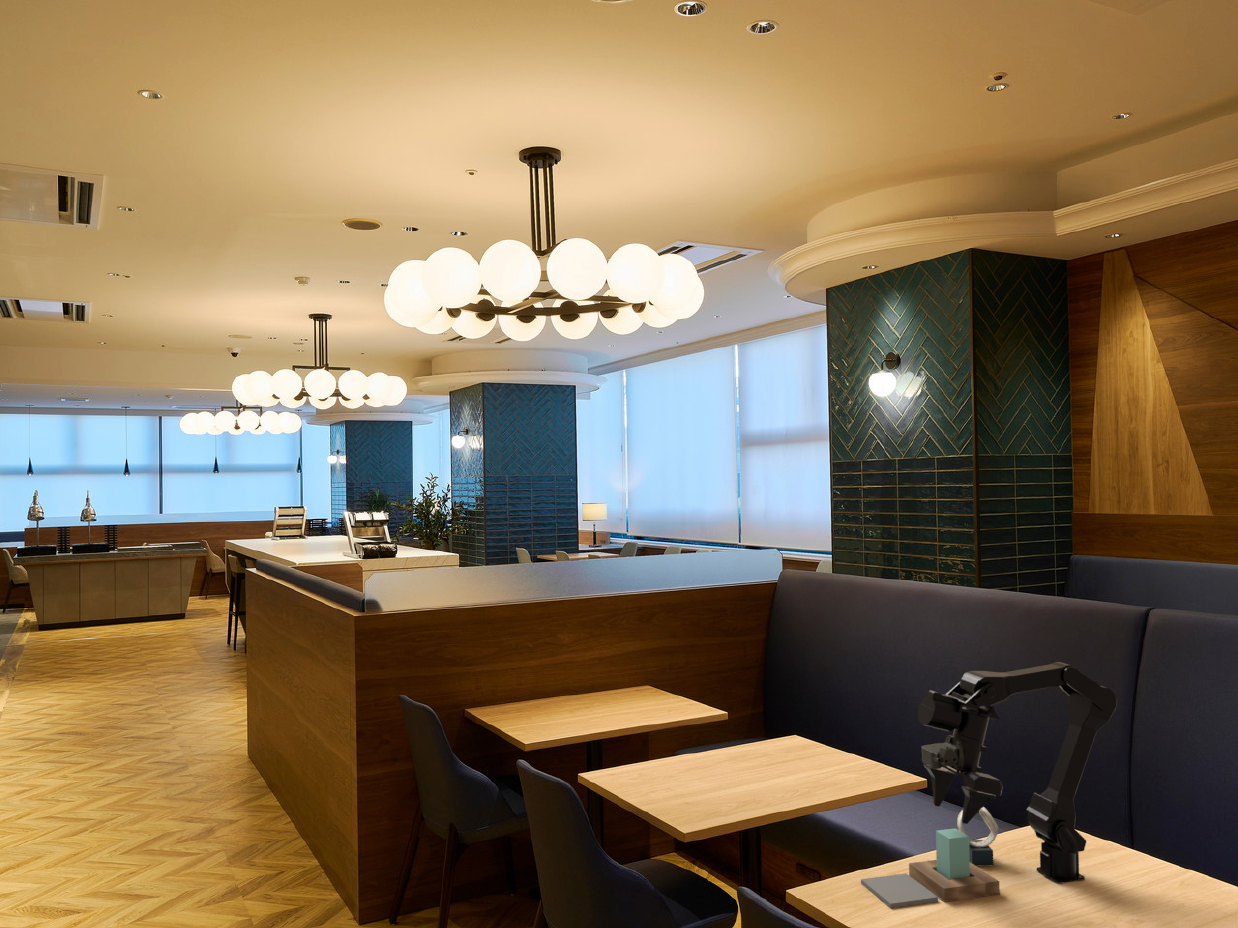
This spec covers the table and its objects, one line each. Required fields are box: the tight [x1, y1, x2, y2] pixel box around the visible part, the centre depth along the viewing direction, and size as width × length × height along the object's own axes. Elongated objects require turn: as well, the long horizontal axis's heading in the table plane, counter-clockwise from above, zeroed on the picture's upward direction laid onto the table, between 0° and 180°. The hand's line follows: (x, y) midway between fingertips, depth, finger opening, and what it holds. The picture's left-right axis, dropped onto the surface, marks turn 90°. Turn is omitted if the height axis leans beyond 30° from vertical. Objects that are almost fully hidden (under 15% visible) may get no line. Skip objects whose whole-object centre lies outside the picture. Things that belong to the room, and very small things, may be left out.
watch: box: [956, 806, 1000, 866], centre depth 192 cm, size 6×8×11 cm
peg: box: [935, 828, 970, 880], centre depth 180 cm, size 4×4×10 cm
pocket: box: [908, 859, 1001, 903], centre depth 180 cm, size 12×12×2 cm
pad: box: [860, 873, 939, 909], centre depth 177 cm, size 10×11×1 cm
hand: (950, 814), depth 180 cm, fingers open, 9 cm apart
